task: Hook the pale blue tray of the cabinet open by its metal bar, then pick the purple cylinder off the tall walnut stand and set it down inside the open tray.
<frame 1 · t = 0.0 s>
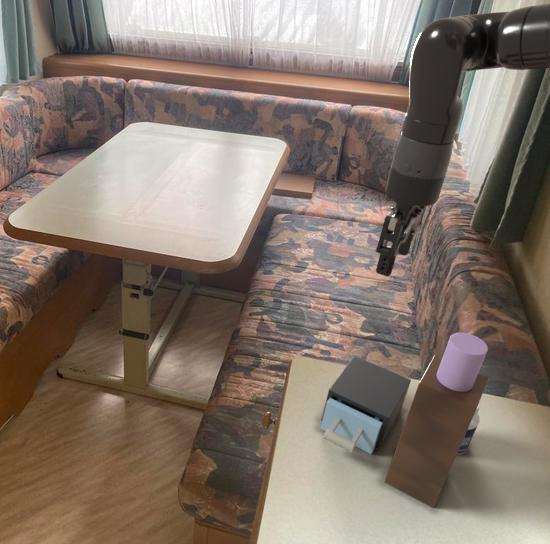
hand: (392, 263, 91), 24 cm above the table, tool pointing down, fingers open, 8 cm apart
stand: (414, 482, 84), on the table
drawer: (354, 419, 89), point 4 cm above the table, slide at 0.5 cm
pill bottle: (447, 446, 91), on the table
cabinet: (360, 419, 95), on the table
purple cylinder: (454, 380, 74), point 20 cm above the table, touching stand
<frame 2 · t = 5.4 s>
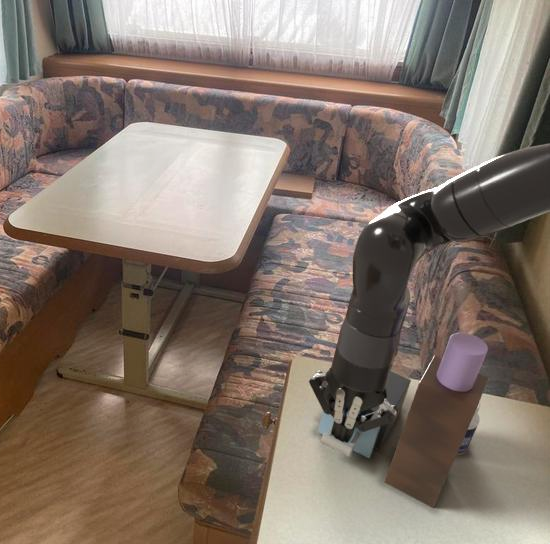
hand: (340, 439, 85), 4 cm above the table, tool pointing down, fingers closed
drawer: (352, 422, 89), point 4 cm above the table, slide at 1.5 cm, touching gripper
everything else where it was.
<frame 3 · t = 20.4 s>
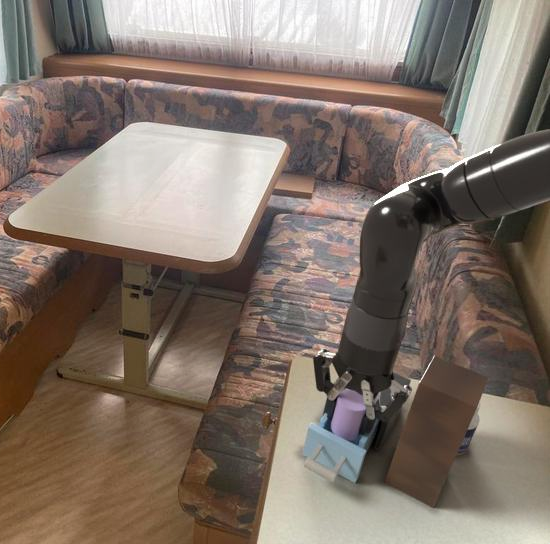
hand: (347, 423, 85), 7 cm above the table, tool pointing down, fingers closed on purple cylinder, 4 cm apart
drawer: (338, 445, 85), point 4 cm above the table, slide at 7.1 cm
purple cylinder: (345, 429, 85), point 5 cm above the table, touching gripper
everything else where it was.
when the fingers open (7 cm above the table, at t = 24.7 s): purple cylinder drops 4 cm, resting on drawer.
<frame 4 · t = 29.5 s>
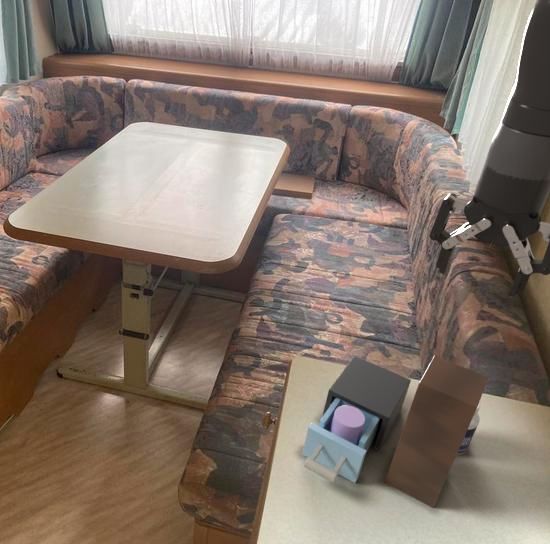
hand: (476, 282, 75), 30 cm above the table, tool pointing down, fingers open, 8 cm apart
drawer: (338, 445, 85), point 4 cm above the table, slide at 7.1 cm, touching purple cylinder
purple cylinder: (342, 444, 87), point 2 cm above the table, touching drawer
everything else where it was.
at the end: drawer slide at 7.1 cm; purple cylinder inside the target area in the drawer (0.3 cm from its centre), point 2.0 cm above the cabinet's base; purple cylinder tilted 0° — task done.
